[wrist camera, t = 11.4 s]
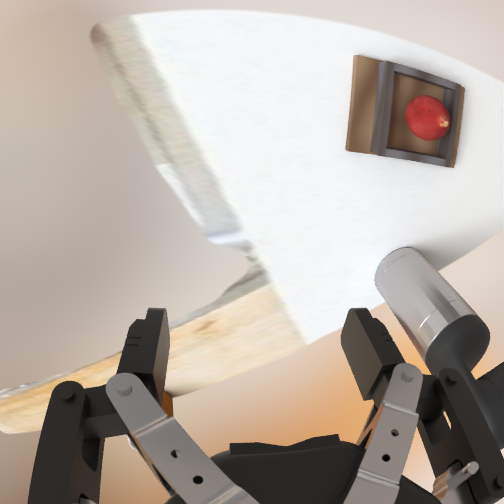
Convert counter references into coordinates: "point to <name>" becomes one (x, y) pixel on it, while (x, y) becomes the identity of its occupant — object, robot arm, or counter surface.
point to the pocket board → (399, 112)
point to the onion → (427, 118)
